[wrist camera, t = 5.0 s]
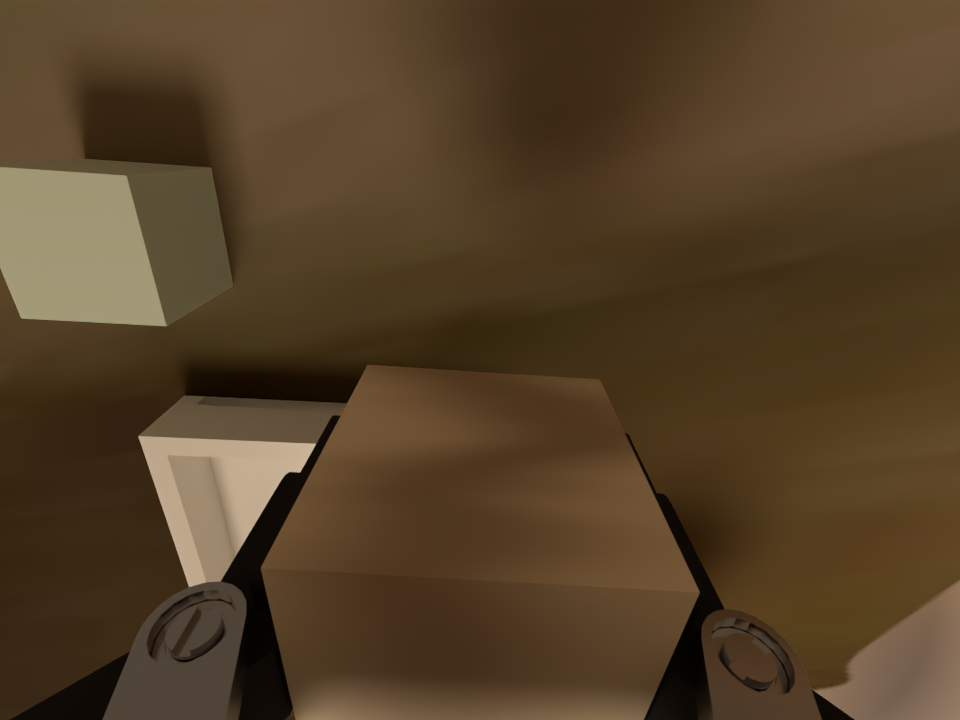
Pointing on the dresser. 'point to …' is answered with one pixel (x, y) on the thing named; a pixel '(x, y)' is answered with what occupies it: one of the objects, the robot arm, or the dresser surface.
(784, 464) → the dresser surface
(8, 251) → the sage block
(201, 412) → the tray
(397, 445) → the maple block
